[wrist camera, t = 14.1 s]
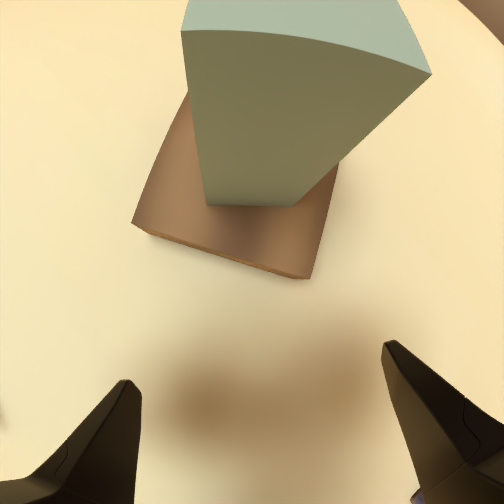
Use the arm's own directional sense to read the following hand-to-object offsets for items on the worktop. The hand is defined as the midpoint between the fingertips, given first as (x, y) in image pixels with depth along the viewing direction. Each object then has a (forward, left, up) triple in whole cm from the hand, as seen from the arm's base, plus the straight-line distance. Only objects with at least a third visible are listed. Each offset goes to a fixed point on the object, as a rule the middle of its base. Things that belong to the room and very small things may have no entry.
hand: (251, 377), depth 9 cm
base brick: (-2, +10, -11) cm, 15 cm away
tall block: (-2, +10, -7) cm, 12 cm away
